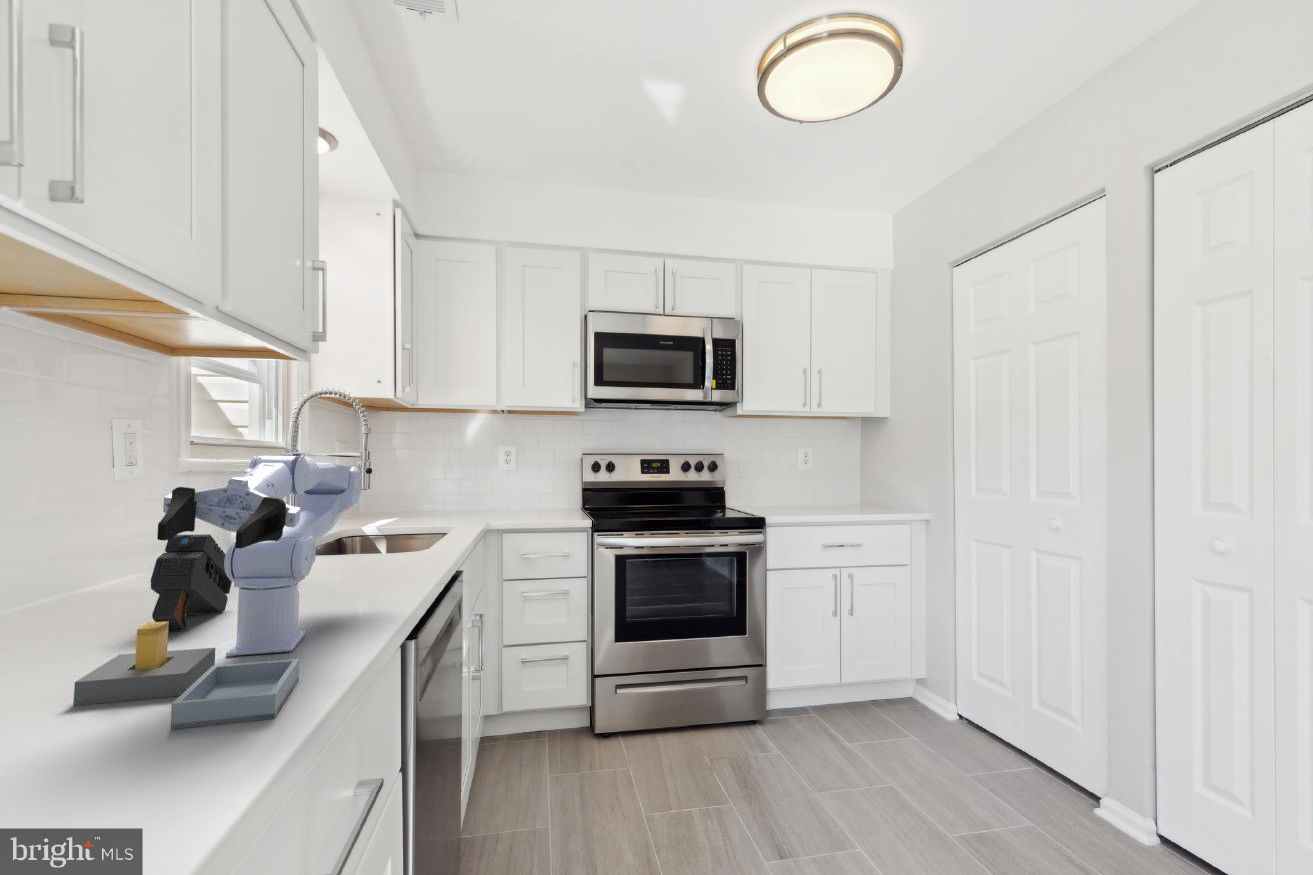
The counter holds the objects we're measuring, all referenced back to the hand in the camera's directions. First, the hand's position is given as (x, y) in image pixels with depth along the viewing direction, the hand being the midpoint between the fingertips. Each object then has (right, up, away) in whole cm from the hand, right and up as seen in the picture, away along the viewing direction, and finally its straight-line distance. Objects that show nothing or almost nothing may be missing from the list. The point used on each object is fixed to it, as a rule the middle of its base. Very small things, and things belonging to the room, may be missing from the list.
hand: (200, 536), depth 69 cm
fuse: (-9, -18, +4) cm, 20 cm away
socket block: (-9, -18, +4) cm, 20 cm away
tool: (-26, -19, +33) cm, 46 cm away
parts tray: (+5, -18, -1) cm, 19 cm away
